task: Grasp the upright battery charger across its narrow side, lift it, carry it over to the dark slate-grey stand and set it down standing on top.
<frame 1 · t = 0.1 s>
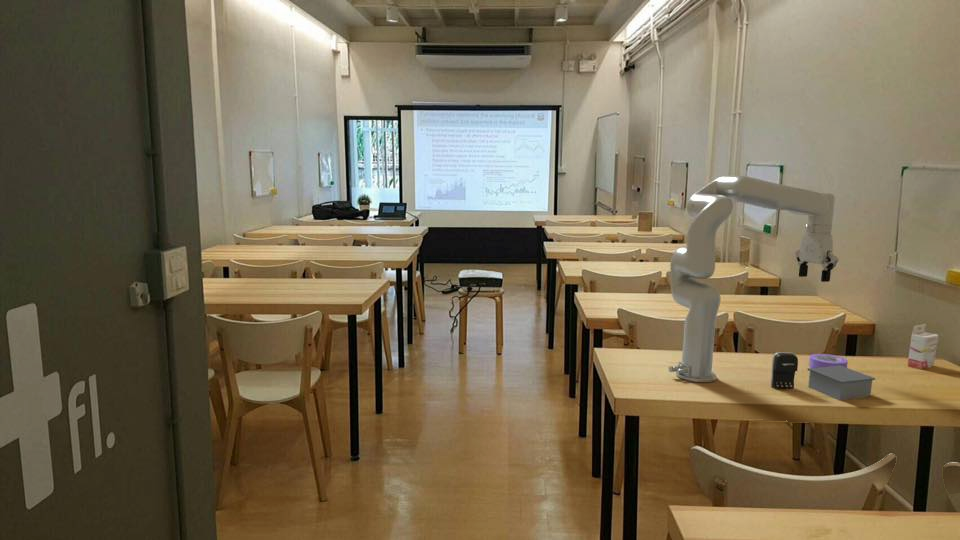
hand: (813, 279, 221), 31 cm above the table, tool pointing down, fingers open, 9 cm apart
masking tape: (827, 369, 224), on the table
ink cartridge box: (920, 366, 228), on the table
battery charger: (783, 389, 202), on the table
stand: (838, 391, 200), on the table
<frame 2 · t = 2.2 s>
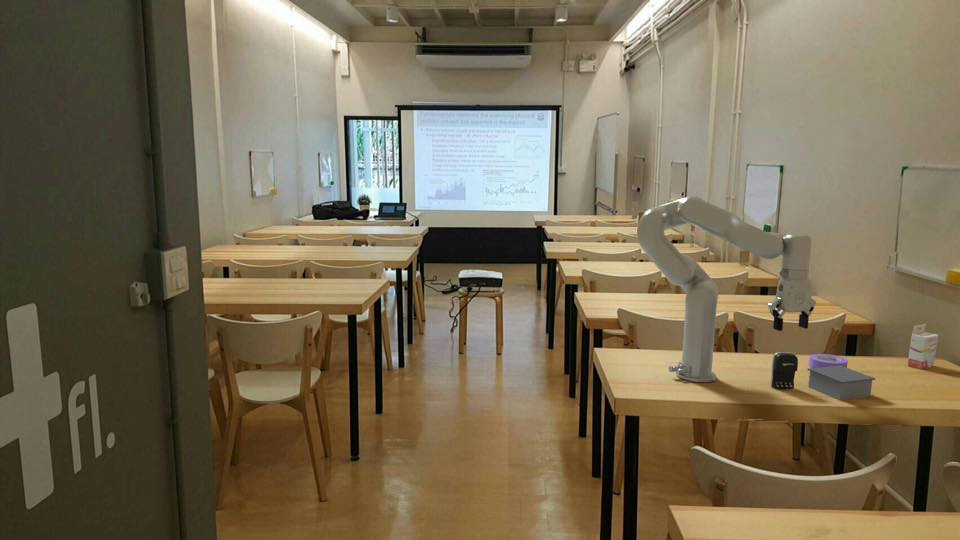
hand: (790, 328, 199), 19 cm above the table, tool pointing down, fingers open, 9 cm apart
nothing on the table moved.
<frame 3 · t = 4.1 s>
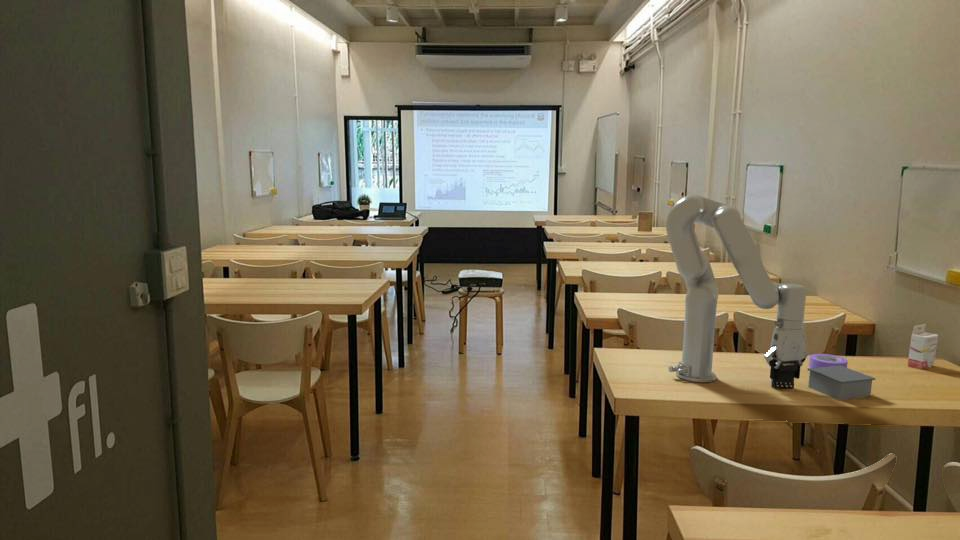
hand: (784, 378, 202), 3 cm above the table, tool pointing down, fingers closed on battery charger, 7 cm apart
battery charger: (783, 389, 202), on the table, touching gripper
everything else where it was.
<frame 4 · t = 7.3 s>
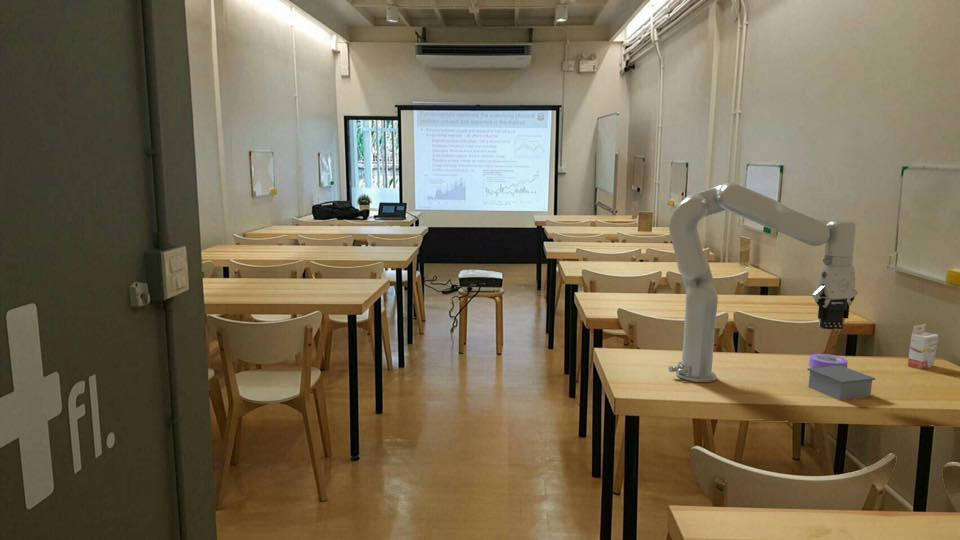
hand: (833, 318, 197), 23 cm above the table, tool pointing down, fingers closed on battery charger, 7 cm apart
battery charger: (831, 329, 197), point 20 cm above the table, touching gripper
everything else where it was.
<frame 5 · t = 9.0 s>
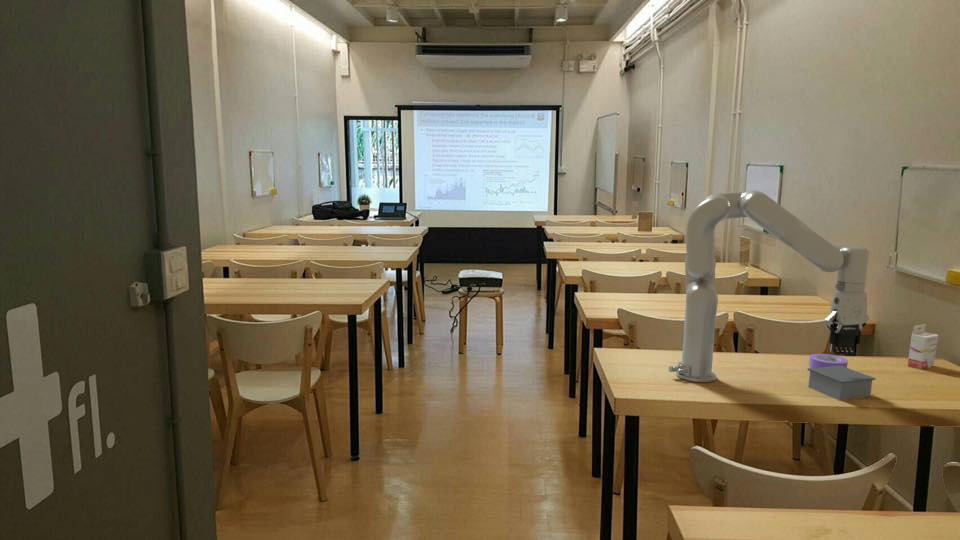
hand: (844, 343, 198), 16 cm above the table, tool pointing down, fingers closed on battery charger, 7 cm apart
battery charger: (842, 354, 198), point 12 cm above the table, touching gripper
everything else where it was.
when the fingers open (11 cm above the table, at t = 10.5 s): battery charger drops 1 cm, resting on stand.
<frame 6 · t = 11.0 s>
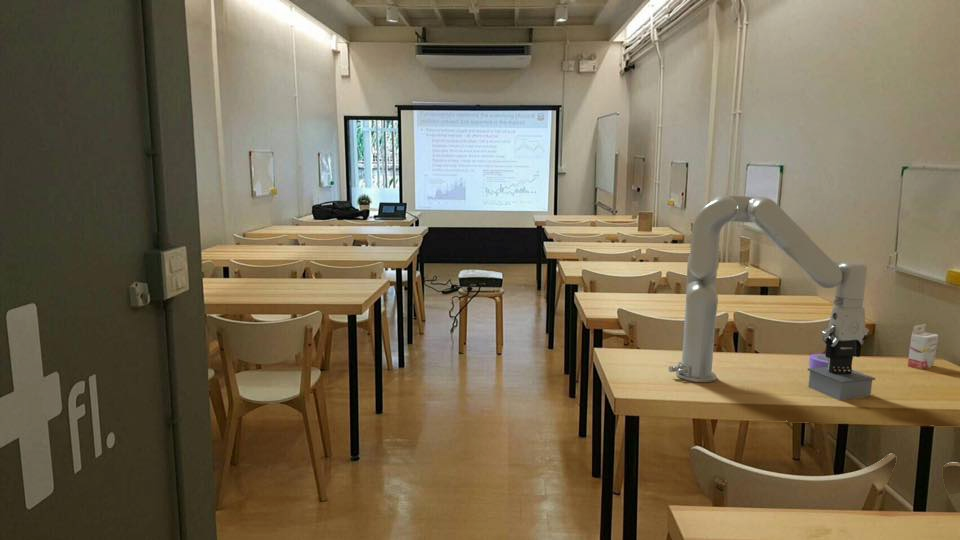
hand: (842, 356, 198), 11 cm above the table, tool pointing down, fingers open, 9 cm apart
battery charger: (840, 373, 200), point 6 cm above the table, touching stand
everything else where it was.
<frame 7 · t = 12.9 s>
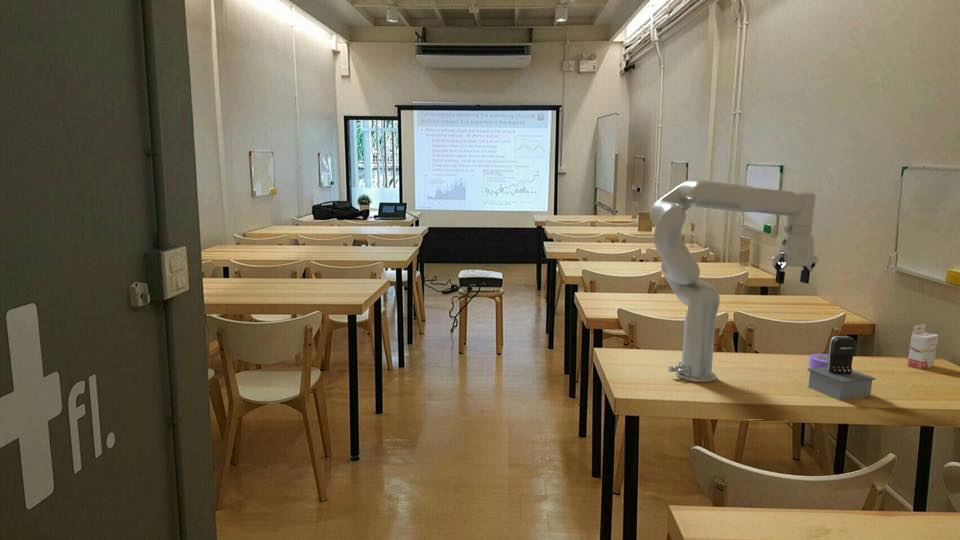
hand: (791, 282, 209), 32 cm above the table, tool pointing down, fingers open, 9 cm apart
nothing on the table moved.
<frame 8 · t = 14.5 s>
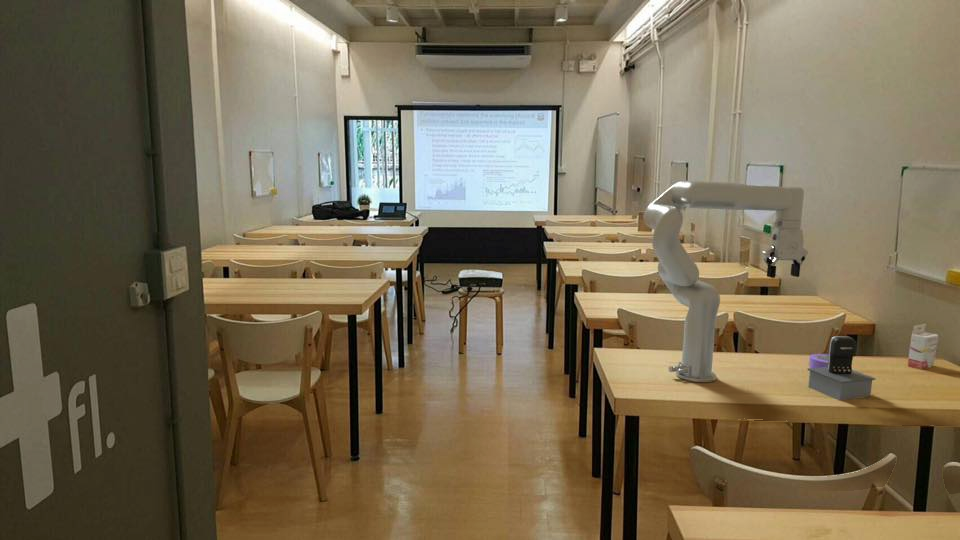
hand: (782, 276, 212), 33 cm above the table, tool pointing down, fingers open, 9 cm apart
nothing on the table moved.
at the end: battery charger inside the target area on the stand (0.2 cm from its centre), point 5.8 cm above the stand's base; battery charger tilted 0°; the gripper is holding nothing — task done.
